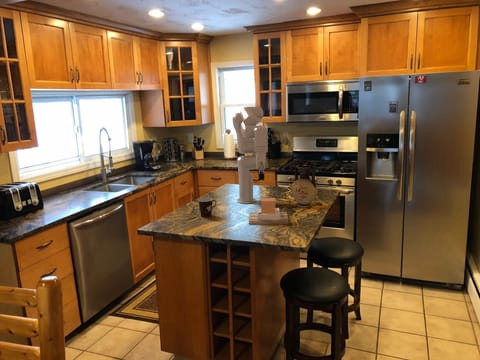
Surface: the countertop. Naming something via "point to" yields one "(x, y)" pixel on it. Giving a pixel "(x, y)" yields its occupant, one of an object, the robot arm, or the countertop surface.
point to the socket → (268, 215)
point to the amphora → (304, 183)
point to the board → (254, 220)
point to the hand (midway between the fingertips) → (261, 178)
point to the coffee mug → (206, 206)
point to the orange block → (268, 205)
